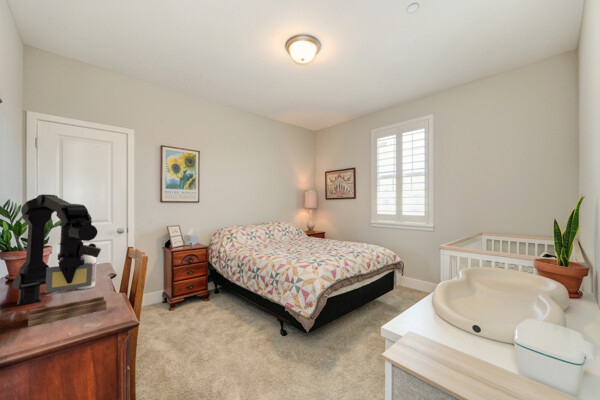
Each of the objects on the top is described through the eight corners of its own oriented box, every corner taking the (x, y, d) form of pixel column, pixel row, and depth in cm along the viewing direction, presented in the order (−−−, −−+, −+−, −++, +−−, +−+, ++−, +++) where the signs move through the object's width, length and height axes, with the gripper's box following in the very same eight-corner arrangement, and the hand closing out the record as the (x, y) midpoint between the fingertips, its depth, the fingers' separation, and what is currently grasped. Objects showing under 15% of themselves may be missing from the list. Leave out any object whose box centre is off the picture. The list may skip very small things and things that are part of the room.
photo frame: (45, 292, 84) (46, 269, 84) (45, 290, 86) (46, 267, 86) (91, 285, 93) (92, 263, 93) (90, 283, 95) (91, 262, 95)
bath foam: (74, 290, 114) (76, 246, 114) (77, 286, 119) (79, 244, 120) (94, 288, 117) (96, 245, 118) (96, 284, 123) (97, 243, 124)
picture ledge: (28, 326, 79) (28, 317, 80) (29, 318, 85) (29, 309, 85) (106, 309, 94) (106, 301, 94) (102, 303, 99) (103, 295, 99)
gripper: (103, 239, 89) (101, 283, 89) (96, 235, 102) (94, 273, 102) (60, 242, 81) (58, 290, 81) (58, 237, 94) (56, 278, 94)
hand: (69, 282), depth 89 cm, fingers closed on photo frame, 3 cm apart
